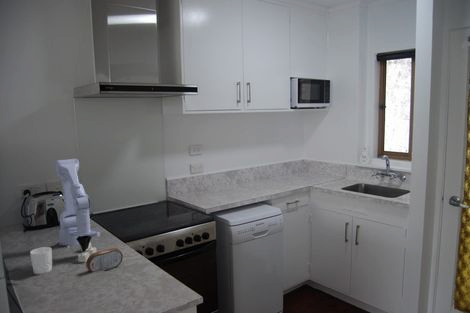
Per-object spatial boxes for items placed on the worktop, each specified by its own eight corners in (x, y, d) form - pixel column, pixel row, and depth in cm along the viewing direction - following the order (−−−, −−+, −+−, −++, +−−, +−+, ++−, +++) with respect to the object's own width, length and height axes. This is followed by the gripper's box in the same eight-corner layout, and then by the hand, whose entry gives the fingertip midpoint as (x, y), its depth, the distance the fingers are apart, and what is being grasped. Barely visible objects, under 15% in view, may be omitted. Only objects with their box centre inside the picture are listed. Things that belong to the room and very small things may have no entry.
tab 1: (78, 262, 158) (77, 253, 158) (82, 259, 161) (81, 251, 161) (85, 262, 158) (85, 254, 157) (89, 259, 161) (89, 251, 160)
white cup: (57, 270, 153) (55, 247, 152) (42, 278, 146) (40, 255, 144) (43, 268, 156) (41, 246, 154) (27, 276, 148) (25, 252, 147)
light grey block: (81, 251, 171) (80, 243, 170) (84, 248, 174) (84, 241, 174) (88, 251, 170) (87, 243, 170) (91, 248, 174) (91, 241, 173)
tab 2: (85, 256, 164) (85, 248, 164) (89, 253, 167) (89, 246, 167) (93, 256, 164) (92, 248, 163) (96, 254, 167) (96, 246, 166)
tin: (121, 263, 159) (120, 245, 158) (124, 265, 157) (123, 247, 156) (86, 274, 149) (85, 254, 148) (89, 276, 147) (87, 256, 146)
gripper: (63, 225, 161) (65, 253, 163) (93, 226, 159) (95, 255, 161) (72, 220, 168) (74, 248, 170) (101, 221, 166) (103, 249, 168)
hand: (85, 251), depth 166 cm, fingers closed
